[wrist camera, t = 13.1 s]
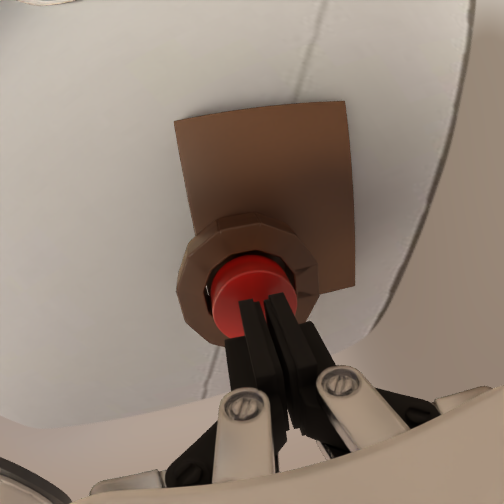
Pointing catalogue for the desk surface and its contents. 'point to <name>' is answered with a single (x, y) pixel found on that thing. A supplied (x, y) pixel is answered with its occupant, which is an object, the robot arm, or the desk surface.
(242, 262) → the button
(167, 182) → the desk surface
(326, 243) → the button block
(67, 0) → the computer mouse
